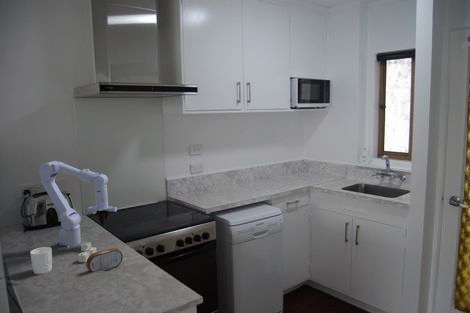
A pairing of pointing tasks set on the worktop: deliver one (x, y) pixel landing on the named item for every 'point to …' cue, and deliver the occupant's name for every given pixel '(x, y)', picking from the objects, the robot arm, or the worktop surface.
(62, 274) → the worktop surface
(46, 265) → the white cup
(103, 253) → the tin
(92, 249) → the tab
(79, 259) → the tab
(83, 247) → the light grey block
